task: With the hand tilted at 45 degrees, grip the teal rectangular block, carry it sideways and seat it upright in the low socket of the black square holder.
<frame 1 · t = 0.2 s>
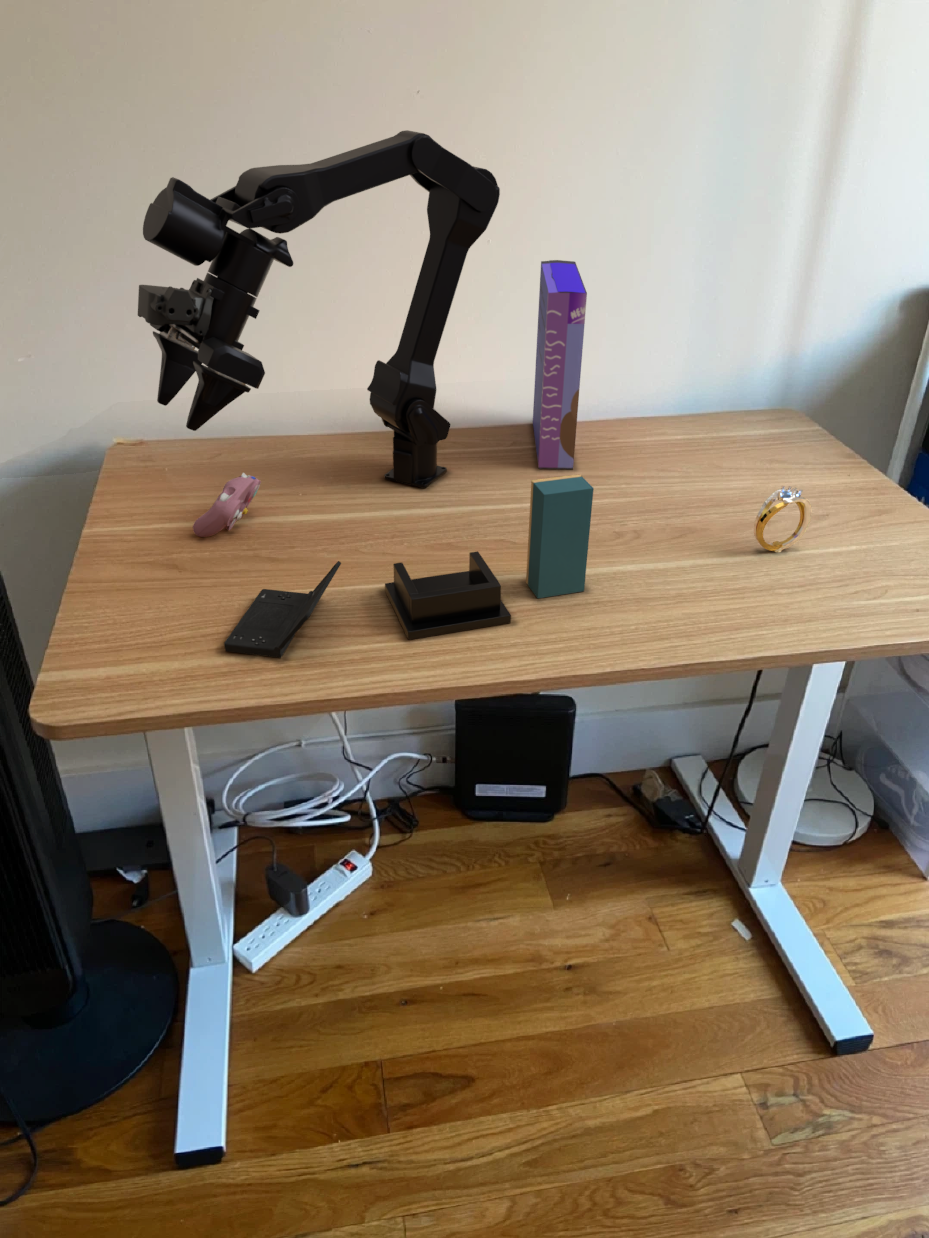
hand: (175, 416, 106), 15 cm above the table, tool tilted 35°, fingers open, 9 cm apart
cereal box: (551, 446, 139), on the table
teal rectangular block: (554, 586, 105), on the table
handheld gaming console: (287, 629, 97), on the table
ring: (776, 552, 112), on the table
video game controller: (231, 524, 117), on the table
black square holder: (446, 606, 101), on the table
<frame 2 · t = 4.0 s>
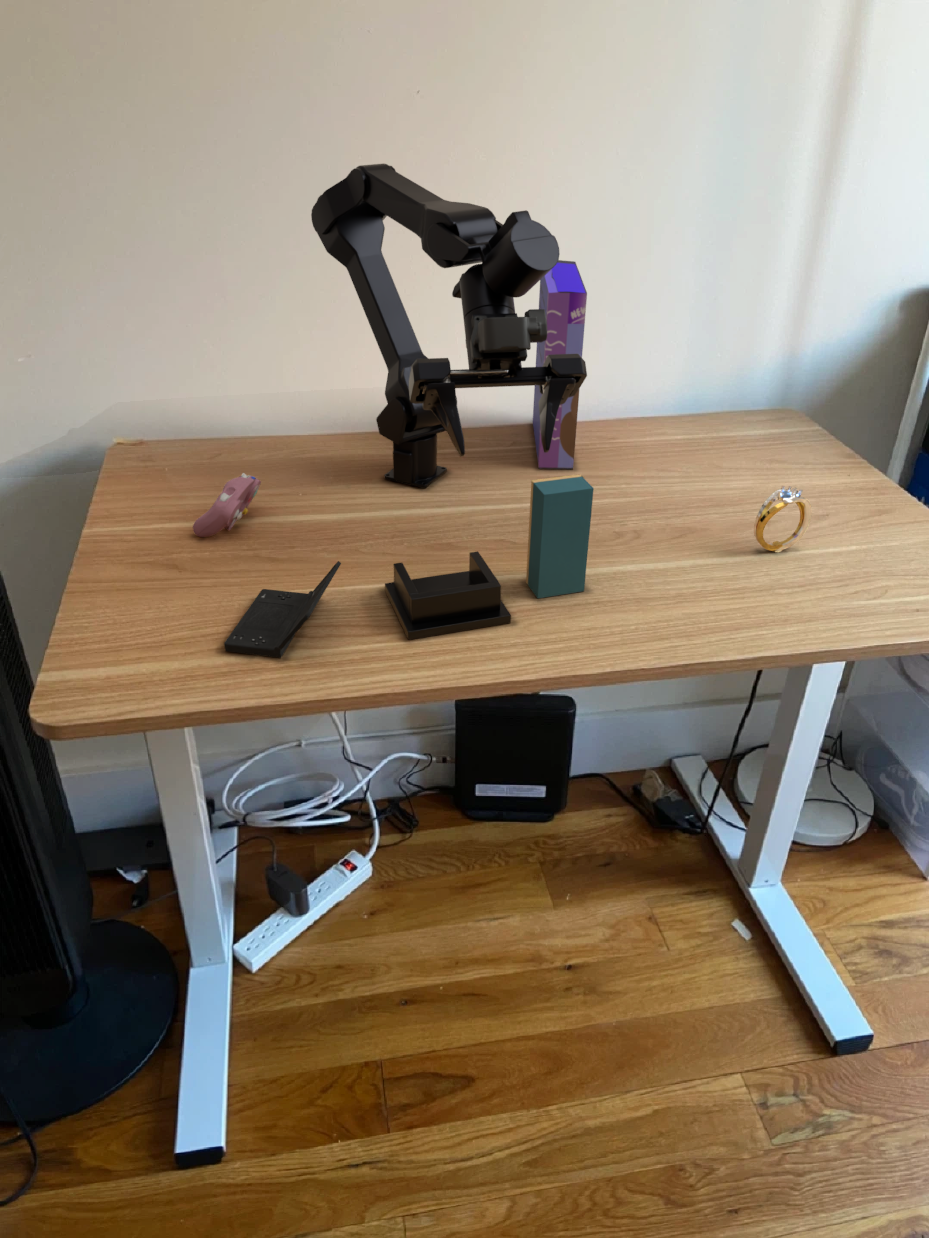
hand: (505, 453, 101), 14 cm above the table, tool tilted 45°, fingers open, 9 cm apart
nothing on the table moved.
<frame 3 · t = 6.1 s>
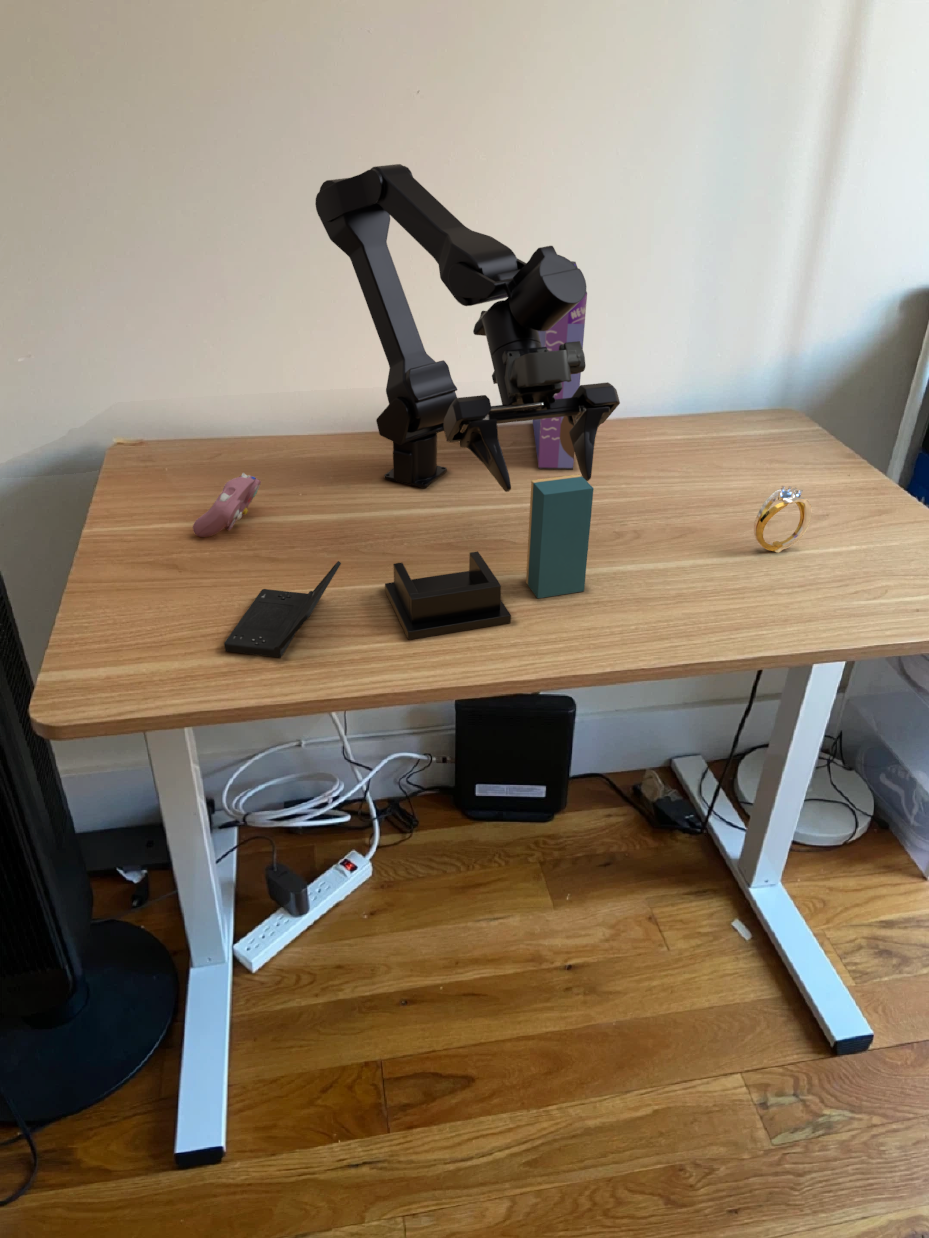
hand: (548, 485, 102), 11 cm above the table, tool tilted 45°, fingers open, 9 cm apart
nothing on the table moved.
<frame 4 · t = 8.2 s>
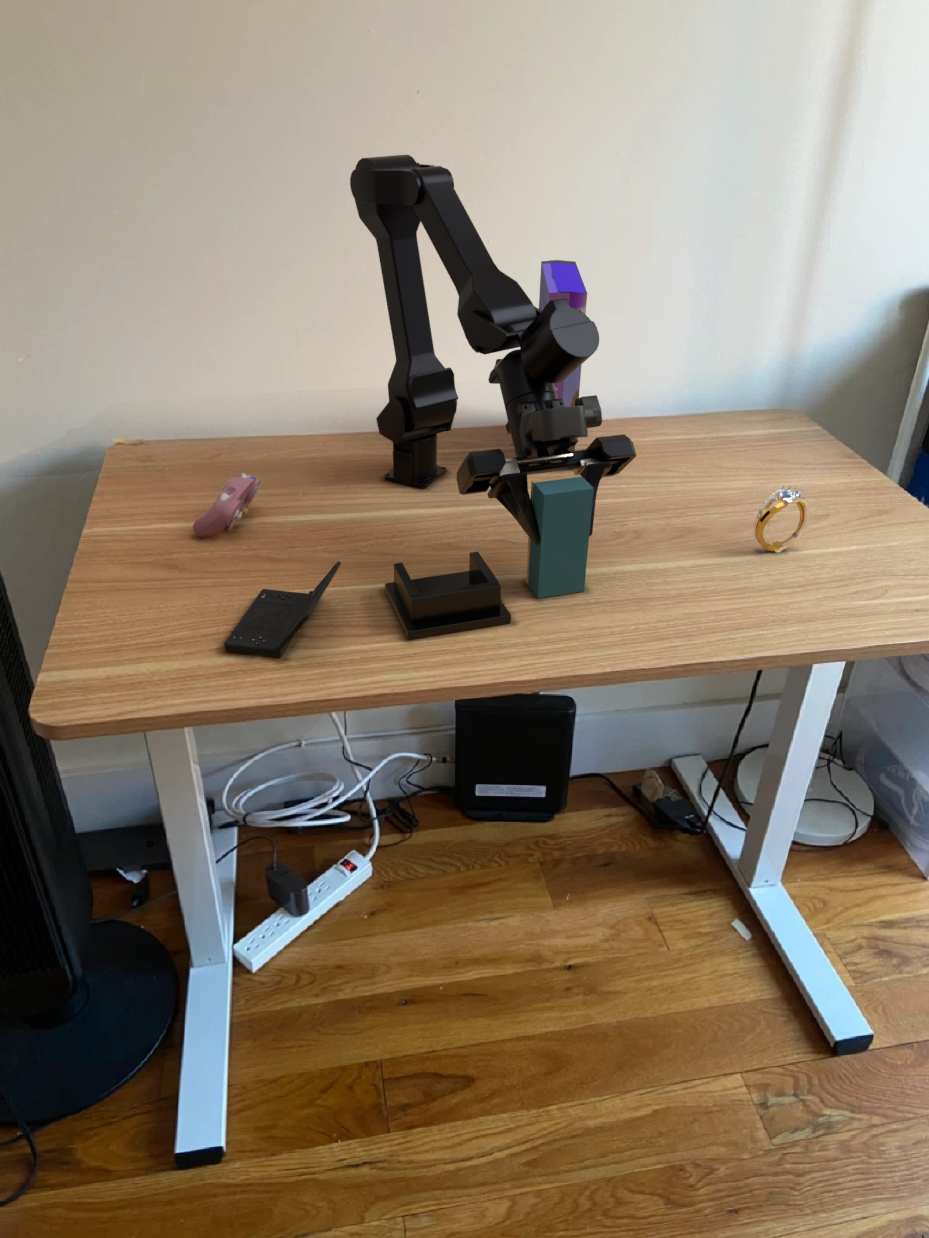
hand: (563, 540, 100), 7 cm above the table, tool tilted 45°, fingers closed on teal rectangular block, 5 cm apart
teal rectangular block: (554, 586, 105), on the table, touching gripper
everything else where it was.
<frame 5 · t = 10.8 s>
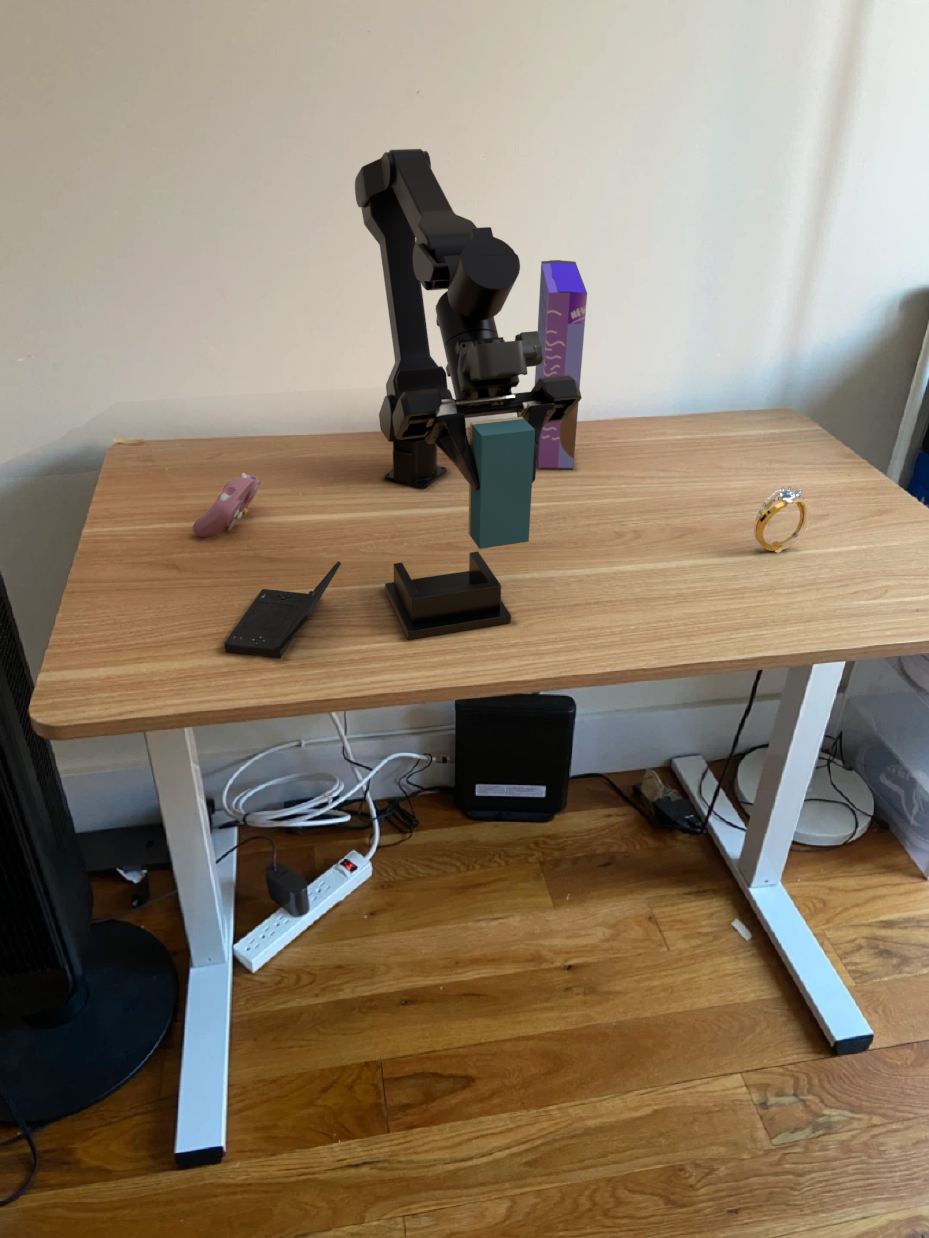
hand: (504, 485, 95), 13 cm above the table, tool tilted 45°, fingers closed on teal rectangular block, 5 cm apart
teal rectangular block: (498, 537, 100), point 7 cm above the table, touching gripper
everything else where it was.
when the fingers open (8 cm above the table, at t = 13.9 s): teal rectangular block stays where it is, resting on black square holder.
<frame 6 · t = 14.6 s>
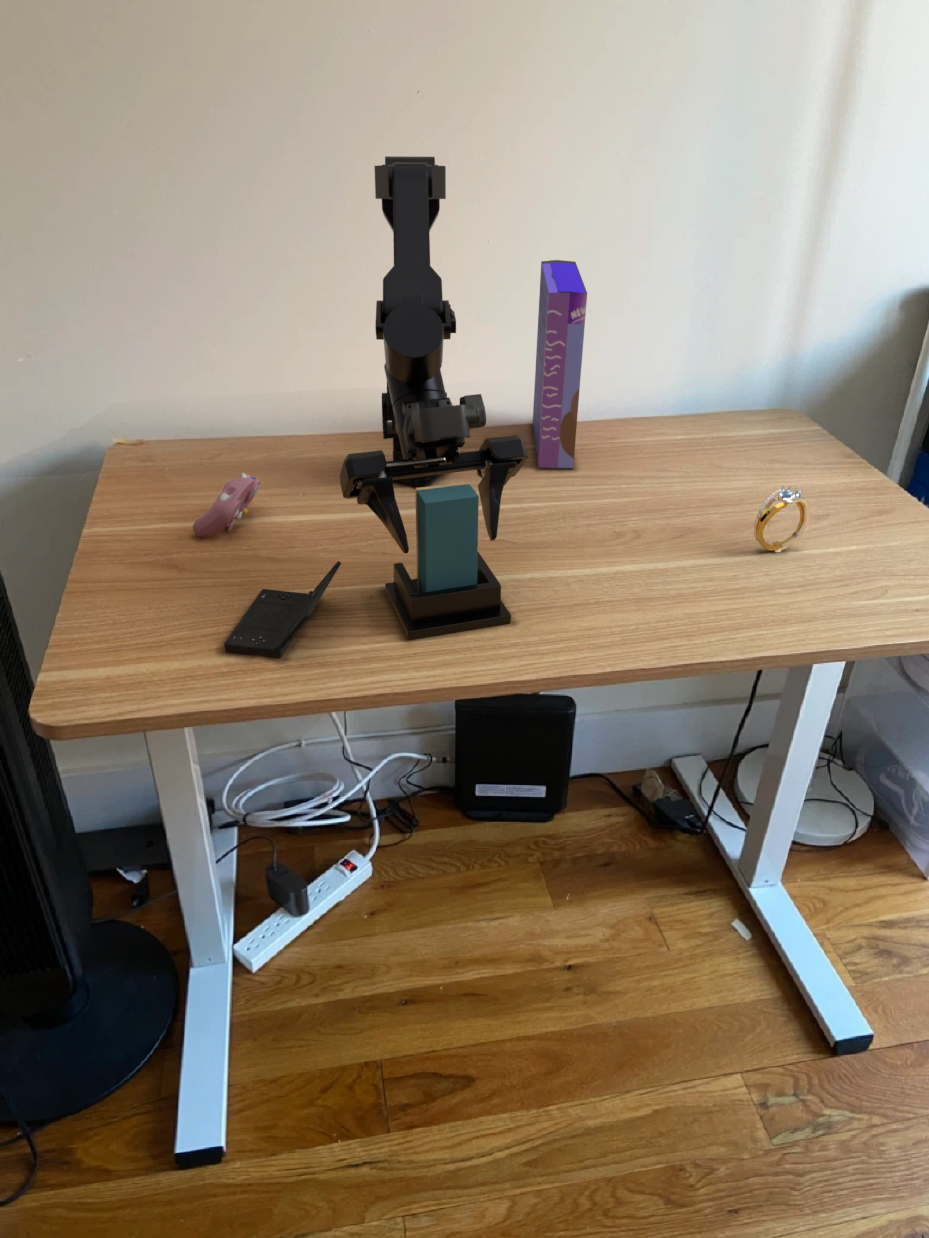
hand: (450, 545, 95), 8 cm above the table, tool tilted 45°, fingers open, 9 cm apart
teal rectangular block: (446, 598, 101), point 1 cm above the table, touching black square holder
everything else where it was.
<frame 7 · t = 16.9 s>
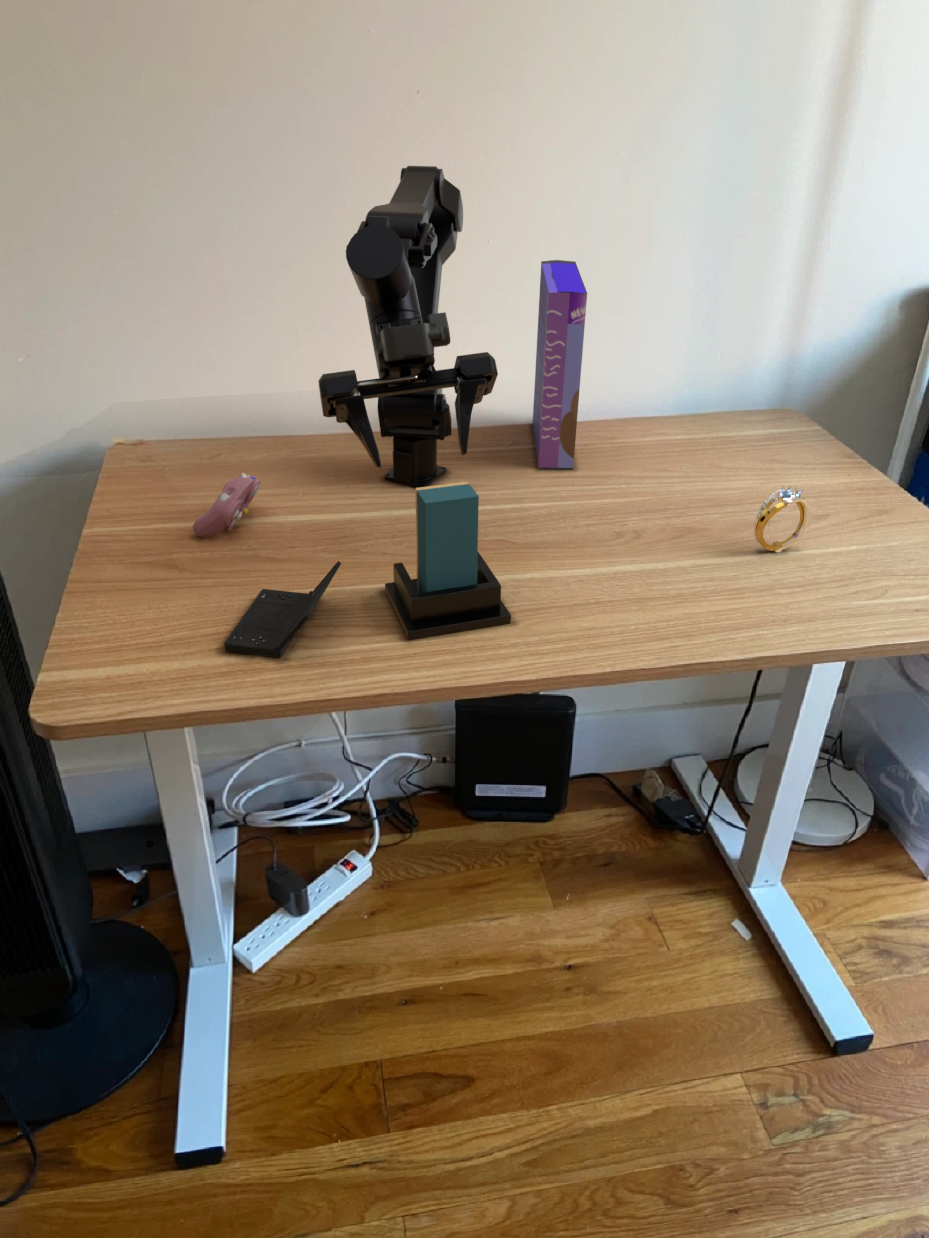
hand: (422, 461, 100), 13 cm above the table, tool tilted 40°, fingers open, 9 cm apart
nothing on the table moved.
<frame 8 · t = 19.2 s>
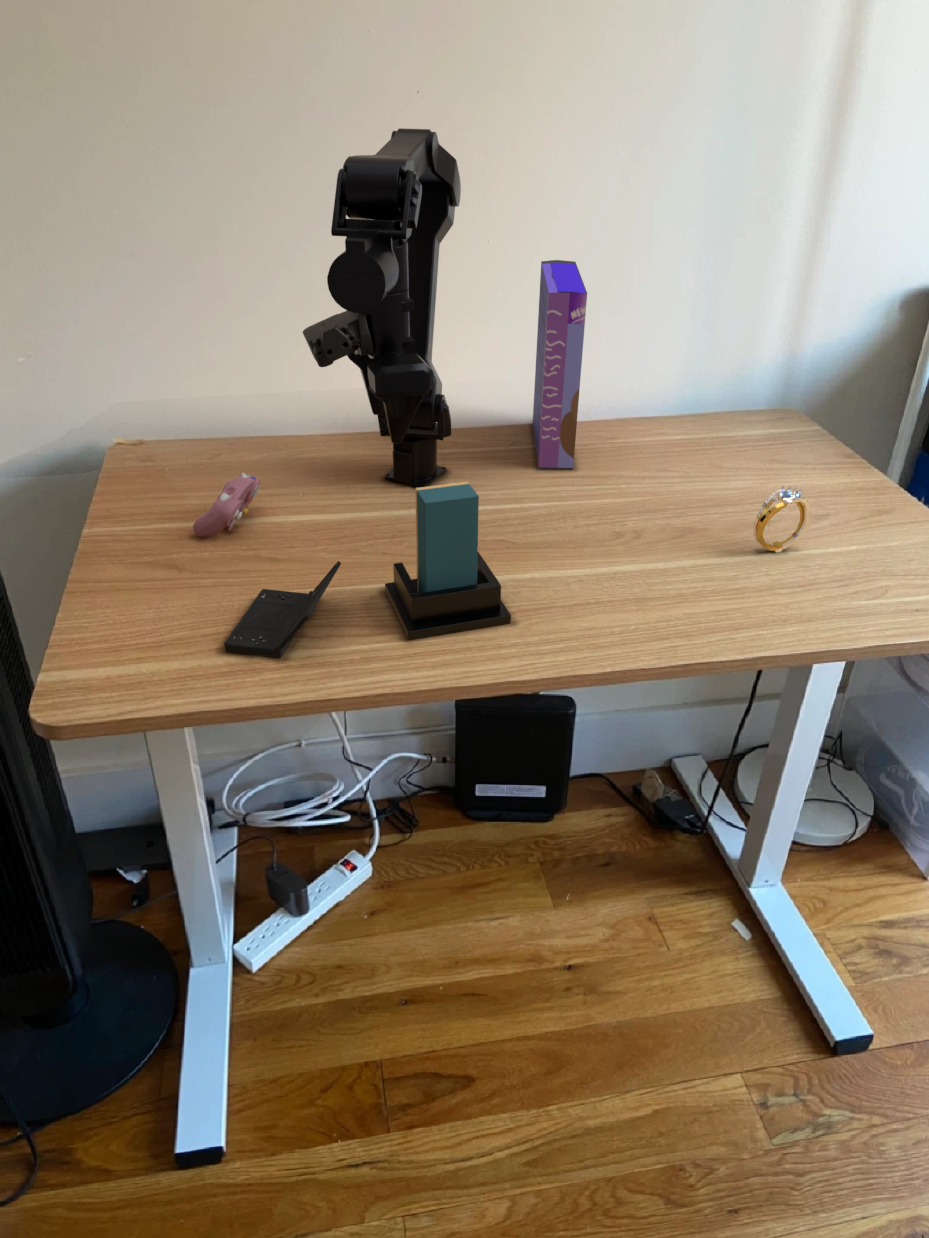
hand: (386, 428, 109), 13 cm above the table, tool pointing down, fingers open, 9 cm apart
nothing on the table moved.
at the end: teal rectangular block 0.1 cm off-centre on the black square holder, point 1.0 cm above the black square holder's base; teal rectangular block tilted 0°; the gripper is holding nothing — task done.
